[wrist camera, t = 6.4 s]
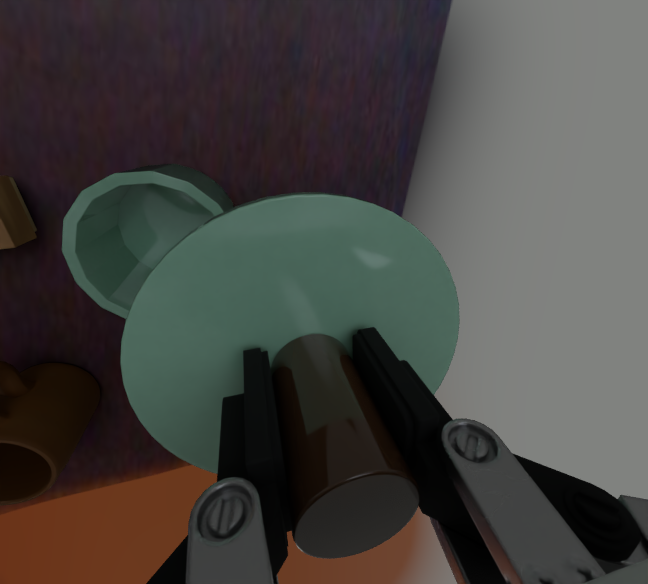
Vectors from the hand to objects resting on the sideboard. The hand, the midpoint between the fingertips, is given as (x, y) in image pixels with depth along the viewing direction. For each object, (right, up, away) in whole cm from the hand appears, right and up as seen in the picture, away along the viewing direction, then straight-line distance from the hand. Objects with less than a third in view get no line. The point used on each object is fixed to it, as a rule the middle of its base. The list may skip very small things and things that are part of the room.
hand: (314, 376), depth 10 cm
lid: (0, 0, +1) cm, 1 cm away
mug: (-27, -5, +21) cm, 34 cm away
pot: (-13, +9, +18) cm, 24 cm away
